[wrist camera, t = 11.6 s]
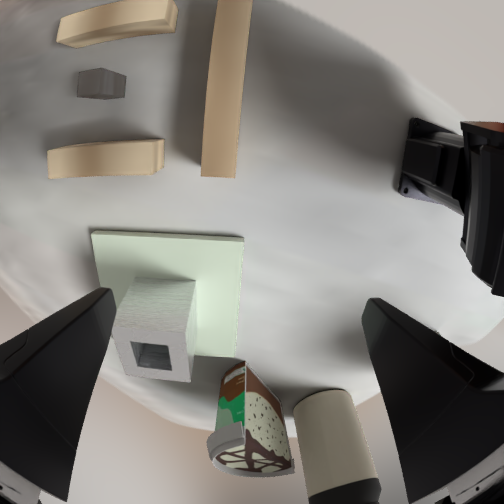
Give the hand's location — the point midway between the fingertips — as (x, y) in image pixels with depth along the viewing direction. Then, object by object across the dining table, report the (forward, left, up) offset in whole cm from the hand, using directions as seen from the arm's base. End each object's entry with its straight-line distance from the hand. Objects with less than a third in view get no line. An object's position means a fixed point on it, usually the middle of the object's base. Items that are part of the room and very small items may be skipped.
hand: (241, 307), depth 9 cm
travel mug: (-13, +26, -12) cm, 31 cm away
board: (+5, +9, -12) cm, 15 cm away
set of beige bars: (+7, -8, -12) cm, 16 cm away
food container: (-2, +22, -12) cm, 25 cm away
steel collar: (+5, +9, -11) cm, 15 cm away
